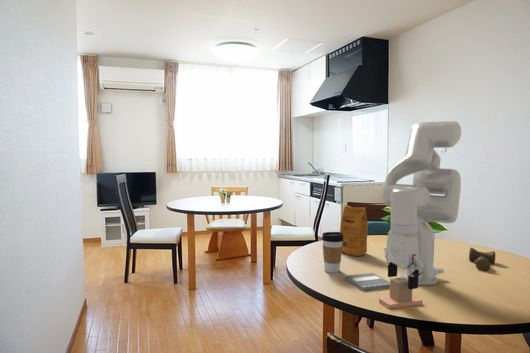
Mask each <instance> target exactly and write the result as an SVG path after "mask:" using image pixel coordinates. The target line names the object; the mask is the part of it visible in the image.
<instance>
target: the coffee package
mask: <svg viewBox="0 0 530 353" xmlns="http://www.w3.org/2000/svg"><path fill="white" fill-rule="evenodd" d="M342 211H343V212H342V217H341V222H340V225H339V226H340V228H339V232H341V233H343V238H344V239H343V241H342V254H347V256H354V257H360V256H362V255H364V254H366V253H368V242H367V240H368V231H369V230H368V228H369V223H368V217H367V213H366V211H367V208H366V207H356V206H355V207H353V206H350V205H346V204H345V205H344V208H343V210H342Z"/></svg>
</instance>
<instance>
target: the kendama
mask: <svg viewBox="0 0 530 353" xmlns="http://www.w3.org/2000/svg"><path fill="white" fill-rule="evenodd" d="M468 261H469V262H473V261H475V267H476V269H477V270H478V271H481V270H483V271H484V272H487V271H489V270H490V269H491V265H495V262H496V251H493V250H491V251H488V252H487V251H486V252H484V251H479V250H476V249H475V248H473V247H470V248H469V252H468ZM483 271H482V272H483Z"/></svg>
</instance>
